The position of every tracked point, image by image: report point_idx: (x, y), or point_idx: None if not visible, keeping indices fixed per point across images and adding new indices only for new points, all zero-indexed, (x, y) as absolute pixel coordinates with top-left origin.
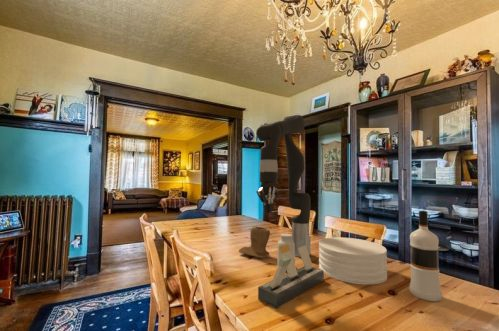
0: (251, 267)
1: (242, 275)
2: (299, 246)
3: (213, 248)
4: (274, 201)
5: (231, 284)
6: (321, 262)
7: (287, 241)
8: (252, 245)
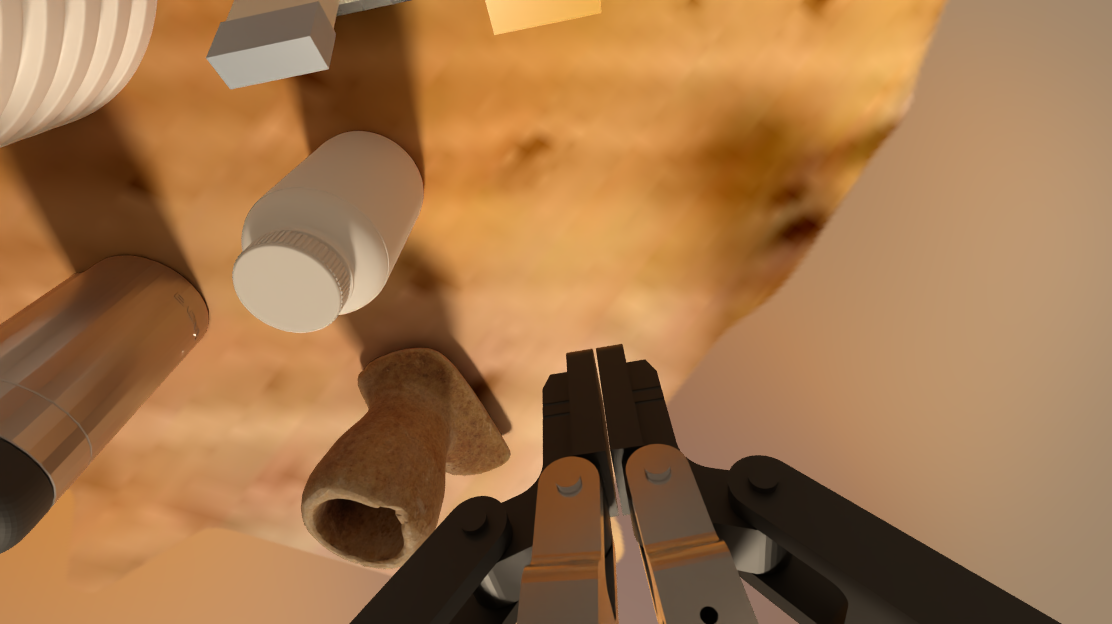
0: (551, 286)
1: (659, 225)
2: (320, 10)
3: None
4: (486, 500)
5: (777, 163)
6: (109, 19)
7: (318, 233)
8: (446, 445)
